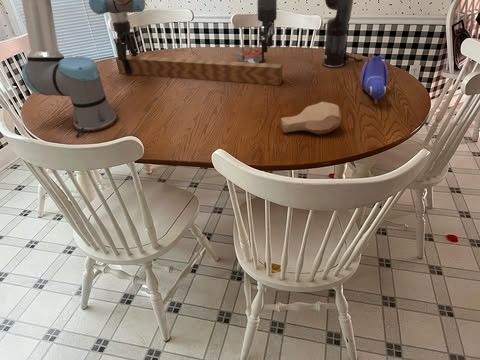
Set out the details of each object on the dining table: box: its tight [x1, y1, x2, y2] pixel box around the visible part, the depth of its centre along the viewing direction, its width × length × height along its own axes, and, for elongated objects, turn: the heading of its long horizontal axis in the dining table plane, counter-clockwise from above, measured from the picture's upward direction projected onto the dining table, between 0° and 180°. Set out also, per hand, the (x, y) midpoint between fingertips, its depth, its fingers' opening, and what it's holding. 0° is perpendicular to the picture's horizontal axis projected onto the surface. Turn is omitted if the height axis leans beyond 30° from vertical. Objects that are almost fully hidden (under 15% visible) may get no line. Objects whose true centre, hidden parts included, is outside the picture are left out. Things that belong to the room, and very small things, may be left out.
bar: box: [115, 55, 284, 86], centre depth 165 cm, size 82×5×8 cm, turn 71°
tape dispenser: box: [237, 47, 265, 63], centre depth 175 cm, size 18×5×20 cm
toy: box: [359, 54, 389, 105], centre depth 135 cm, size 10×17×25 cm
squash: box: [280, 101, 342, 135], centre depth 117 cm, size 11×20×9 cm, turn 92°
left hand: (132, 70), depth 177 cm, fingers open, 6 cm apart
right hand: (267, 49), depth 149 cm, fingers open, 8 cm apart
